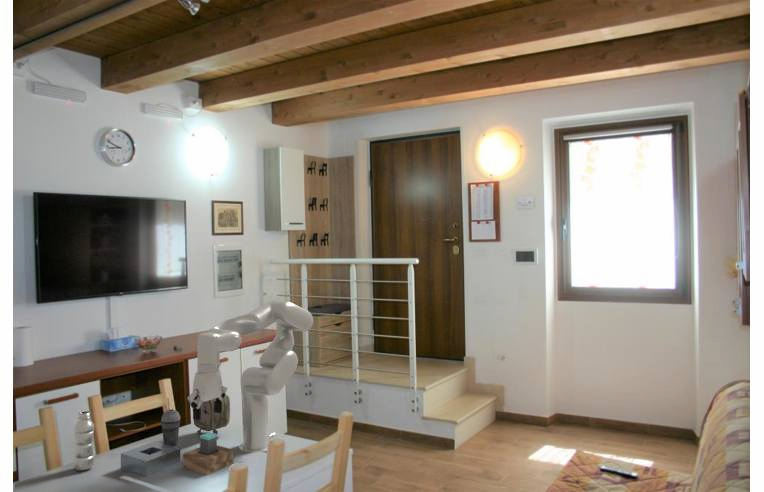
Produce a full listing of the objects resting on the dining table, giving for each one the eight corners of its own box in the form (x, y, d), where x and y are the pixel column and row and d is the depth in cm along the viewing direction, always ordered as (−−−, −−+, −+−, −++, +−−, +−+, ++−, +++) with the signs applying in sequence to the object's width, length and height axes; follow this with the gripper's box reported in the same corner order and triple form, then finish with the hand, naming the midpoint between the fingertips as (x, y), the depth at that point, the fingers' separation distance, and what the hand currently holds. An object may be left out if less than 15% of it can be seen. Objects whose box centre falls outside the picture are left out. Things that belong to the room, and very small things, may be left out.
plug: (208, 462, 203) (208, 432, 202) (216, 464, 201) (216, 434, 200) (200, 466, 199) (200, 435, 199) (208, 468, 197) (208, 437, 197)
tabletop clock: (192, 434, 235) (192, 374, 235) (211, 428, 242) (211, 371, 242) (212, 442, 226) (212, 380, 226) (231, 436, 233) (231, 376, 233)
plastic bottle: (87, 464, 203) (87, 409, 203) (98, 468, 200) (98, 412, 199) (69, 470, 197) (69, 413, 197) (80, 474, 194) (80, 416, 194)
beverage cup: (173, 454, 213) (174, 401, 213) (156, 452, 214) (156, 400, 214) (184, 447, 220) (184, 396, 220) (167, 446, 221) (167, 395, 221)
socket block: (154, 457, 210) (154, 441, 210) (180, 465, 203) (180, 448, 203) (120, 470, 198) (120, 453, 198) (146, 478, 191) (146, 461, 191)
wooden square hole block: (209, 459, 208) (209, 443, 208) (233, 466, 202) (233, 449, 202) (183, 470, 198) (183, 453, 198) (207, 478, 192) (207, 460, 192)
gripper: (219, 362, 209) (218, 408, 209) (181, 370, 194) (180, 420, 194) (233, 364, 205) (233, 411, 205) (196, 373, 190) (195, 424, 190)
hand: (207, 415), depth 199 cm, fingers open, 9 cm apart
